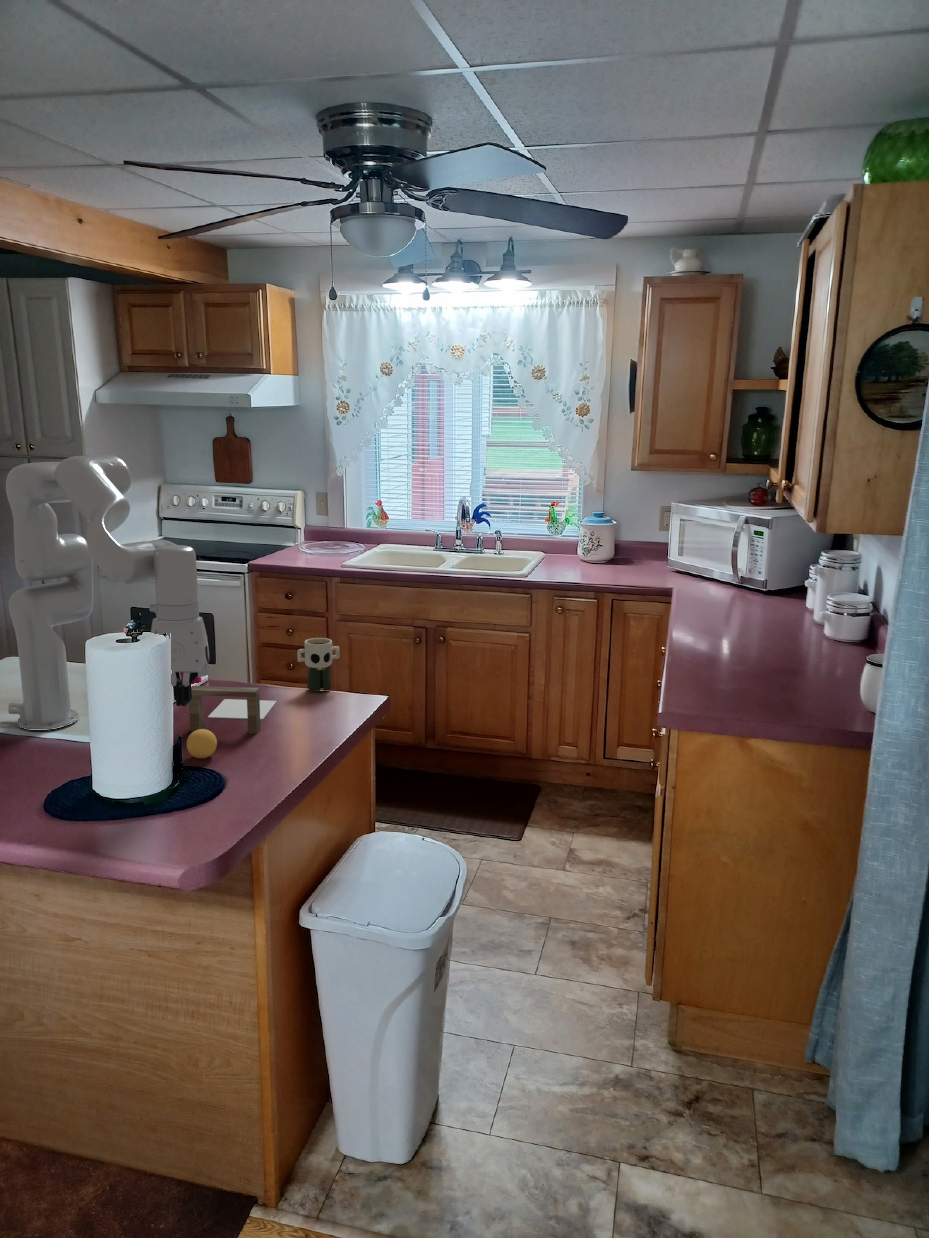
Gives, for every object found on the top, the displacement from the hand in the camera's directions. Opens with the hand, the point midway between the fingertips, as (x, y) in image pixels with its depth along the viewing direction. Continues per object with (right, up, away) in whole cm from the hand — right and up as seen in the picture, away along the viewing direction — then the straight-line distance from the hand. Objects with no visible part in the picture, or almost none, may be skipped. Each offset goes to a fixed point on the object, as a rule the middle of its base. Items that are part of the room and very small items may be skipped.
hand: (183, 703), depth 170 cm
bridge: (+1, -9, +28) cm, 30 cm away
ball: (0, -9, +12) cm, 15 cm away
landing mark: (+1, -5, +42) cm, 42 cm away
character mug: (+17, -2, +58) cm, 60 cm away
